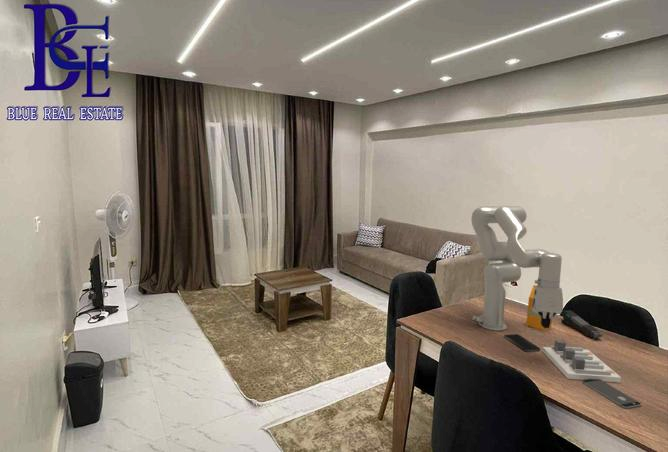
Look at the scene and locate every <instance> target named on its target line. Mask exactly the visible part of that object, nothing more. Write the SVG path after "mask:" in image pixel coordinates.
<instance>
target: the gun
mask: <svg viewBox="0 0 668 452" xmlns="http://www.w3.org/2000/svg"><path fill="white" fill-rule="evenodd" d="M561 316H562V318H563V319H561V320H560V322H561V323H562V324H564V323H565V324H568V325H569V327H572V328H573V329H575V330H579V331H580V332H582V333H583V334H584V335H585V336H587V337H590V338H591V339H592V340H599V339H600V338H602V337H603V335H604V334H603V333H602V332H601V331H599V329H598V328H596V327H595V326H593V325H592V324H589V322H588V321H585V320H584V319H583V318H581V317H580V316H579V315H578V314H576V312H574V311H573V310H568V309H567V310H562V312H561Z"/></svg>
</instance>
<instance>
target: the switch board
mask: <svg viewBox="0 0 668 452" xmlns="http://www.w3.org/2000/svg"><path fill="white" fill-rule="evenodd" d="M565 348H572V349H573V350H574V351H575V357H582V358H583V359H584V360H585V367H584V369H575V370H574V369H573V368H572V360H569V359H565V360H564V359H563V358H562V357H563V351H555V350H554V345H551V346H550V347H549V346H542V348H541V349H542V351H541V352H543V354H544V355H545V356H546V357H547V358H548V359H549V360H550V361H551V363H553V364H554V366H555V367H556V368H557V369H558V370H559V371H560V372H561V373H562V374H563V375H564V377H565V378H566V379H567V380H577V381H582V380H587V379H598V380H602V381H604V382H605V383H607V382H608V383H619V384H620V383H621V382H622V376H621V375H619V374H618V373H616V372H615V370H614V369H612V368H610V367H609V366H608V365H607V363H605V362H604V361H602V360H601V359H600V358H598V356H596V355H595V354H594V353H593V352H592V351H591V350H589V349H584V348H583V347H579V346H578V347H576V346H566V347H565Z"/></svg>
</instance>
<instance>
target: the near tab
mask: <svg viewBox="0 0 668 452" xmlns="http://www.w3.org/2000/svg"><path fill="white" fill-rule="evenodd" d="M584 367H585V360H584V359H583V358H582V357H573V360H572V368H573V369H574V370H575V369H584Z"/></svg>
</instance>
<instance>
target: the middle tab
mask: <svg viewBox="0 0 668 452" xmlns="http://www.w3.org/2000/svg"><path fill="white" fill-rule="evenodd" d="M573 357H575V351H574V350H573V349H572V348H563V357H562V358H563V359H564V360H565V359H569V360H573Z"/></svg>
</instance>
